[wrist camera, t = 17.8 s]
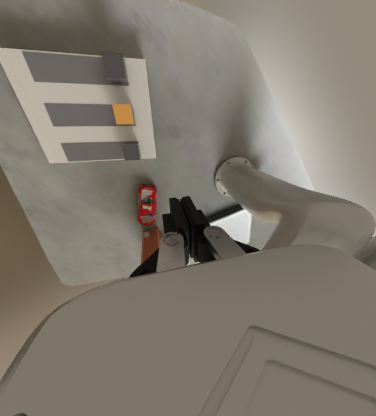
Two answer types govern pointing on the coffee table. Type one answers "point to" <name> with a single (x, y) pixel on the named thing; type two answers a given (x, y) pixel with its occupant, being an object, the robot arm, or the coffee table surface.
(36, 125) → the board
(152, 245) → the control panel
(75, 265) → the coffee table surface
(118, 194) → the coffee table surface
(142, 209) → the race car
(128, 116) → the block
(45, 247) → the coffee table surface
